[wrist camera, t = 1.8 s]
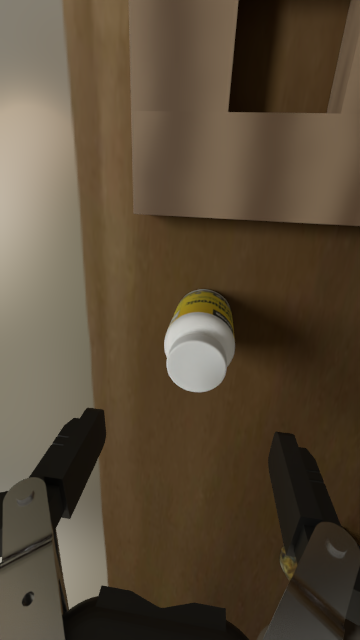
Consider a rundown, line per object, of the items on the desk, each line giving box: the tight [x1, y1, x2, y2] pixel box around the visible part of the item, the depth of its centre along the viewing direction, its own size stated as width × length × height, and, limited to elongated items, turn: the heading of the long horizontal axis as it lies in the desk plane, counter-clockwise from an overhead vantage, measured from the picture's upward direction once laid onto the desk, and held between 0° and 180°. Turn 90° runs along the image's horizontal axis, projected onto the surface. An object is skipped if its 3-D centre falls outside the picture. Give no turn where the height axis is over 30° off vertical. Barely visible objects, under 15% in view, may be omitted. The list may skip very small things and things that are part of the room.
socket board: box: [129, 0, 360, 226], centre depth 17 cm, size 20×20×3 cm
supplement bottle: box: [164, 289, 235, 392], centre depth 22 cm, size 5×5×10 cm
